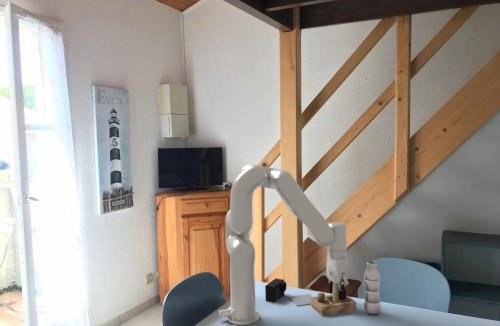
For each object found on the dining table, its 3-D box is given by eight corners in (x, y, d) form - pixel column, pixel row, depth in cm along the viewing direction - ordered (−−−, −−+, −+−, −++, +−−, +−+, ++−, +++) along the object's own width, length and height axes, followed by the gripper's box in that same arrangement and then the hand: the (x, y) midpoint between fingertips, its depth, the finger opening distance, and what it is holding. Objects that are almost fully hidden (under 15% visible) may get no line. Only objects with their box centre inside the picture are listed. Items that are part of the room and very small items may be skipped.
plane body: (321, 316, 156) (321, 299, 156) (310, 305, 166) (310, 290, 166) (356, 310, 160) (356, 294, 160) (343, 301, 170) (343, 286, 170)
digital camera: (277, 303, 170) (276, 287, 169) (265, 301, 172) (265, 285, 172) (287, 295, 179) (286, 279, 178) (275, 293, 181) (275, 278, 181)
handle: (345, 310, 161) (345, 273, 160) (329, 309, 162) (328, 272, 161) (345, 305, 165) (345, 269, 165) (329, 304, 167) (329, 269, 166)
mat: (297, 306, 166) (297, 305, 166) (288, 297, 176) (288, 296, 176) (319, 303, 169) (319, 302, 169) (309, 294, 178) (309, 293, 178)
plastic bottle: (363, 315, 156) (362, 264, 155) (364, 308, 162) (364, 259, 161) (380, 317, 154) (380, 265, 153) (381, 310, 160) (380, 260, 159)
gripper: (319, 248, 170) (319, 289, 171) (338, 259, 153) (339, 305, 154) (335, 247, 172) (335, 287, 173) (356, 258, 155) (357, 303, 156)
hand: (337, 295), depth 163 cm, fingers open, 7 cm apart
